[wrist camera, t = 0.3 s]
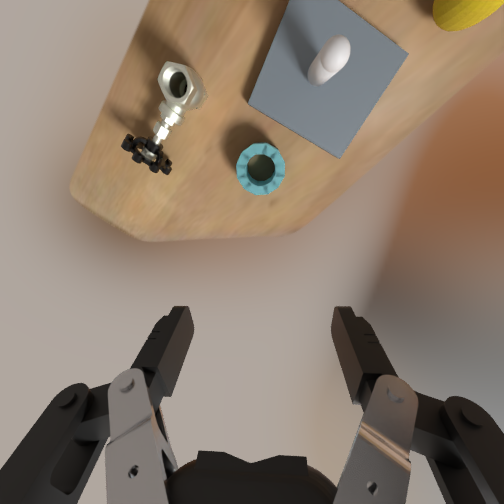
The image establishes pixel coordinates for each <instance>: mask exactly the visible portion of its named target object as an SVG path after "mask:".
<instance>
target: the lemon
mask: <svg viewBox="0 0 504 504" xmlns="http://www.w3.org/2000/svg"><path fill="white" fill-rule="evenodd" d="M503 4H504V0H434V4H433V18H434V21H435V23H436V25H437V26H438V27H440V28H441V29H443V30H446V31H459V30H462V29H465V28H468V27H471V26H473V25H475V24H477V23H478V22H480V21H482V20H483V19H485V18H487V17H488V16H489V15H491V14H492V13H493V12H495V11H496V10H497V9H498V8H499V7H500V6H501V5H503Z"/></svg>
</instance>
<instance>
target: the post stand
mask: <svg viewBox="0 0 504 504" xmlns="http://www.w3.org/2000/svg"><path fill="white" fill-rule="evenodd" d="M407 56H408V53H407V52H406V51H404V50H403V49H402V48H400V47H399V46H398V45H396V44H395V43H394V42H393V41H391V40H390V39H389V38H387V37H386V36H385V35H383V34H382V33H381V32H379V31H378V30H377V29H375V28H374V27H373V26H371V25H370V24H369V23H367V22H366V21H365V20H363V19H362V18H361V17H360V16H358V15H357V14H356V13H354V12H353V11H352V10H350V9H349V8H348V7H346V6H345V5H344V4H342V3H341V2H340V1H338V0H290V1H289V3H288V6H287V8H286V11H285V13H284V15H283V18H282V20H281V23H280V25H279V28H278V30H277V33H276V35H275V38H274V40H273V43H272V45H271V48H270V50H269V52H268V55H267V57H266V60H265V62H264V65H263V67H262V70H261V72H260V75H259V77H258V80H257V82H256V85H255V87H254V90H253V92H252V94H251V97H250V99H249V102H248V105H250V106H251V107H253V108H255V109H256V110H258V111H260V112H261V113H263V114H265V115H266V116H268V117H270V118H272V119H273V120H275V121H277V122H278V123H280V124H282V125H283V126H285V127H287V128H288V129H290V130H292V131H293V132H295V133H297V134H298V135H300V136H302V137H303V138H305V139H307V140H308V141H310V142H312V143H313V144H315V145H317V146H318V147H320V148H322V149H323V150H325V151H327V152H328V153H330V154H332V155H333V156H335V157H337V158H339V159H340V158H341V156H342V155H343V153H344V152H345V150H346V149H347V147H348V146H349V144H350V143H351V141H352V140H353V138H354V136H355V135H356V133H357V132H358V130H359V129H360V127H361V126H362V124H363V123H364V121H365V120H366V118H367V117H368V115H369V114H370V112H371V111H372V109H373V108H374V106H375V105H376V103H377V102H378V100H379V98H380V97H381V95H382V94H383V92H384V91H385V89H386V88H387V86H388V85H389V83H390V82H391V80H392V79H393V77H394V76H395V74H396V73H397V71H398V70H399V68H400V67H401V65H402V64H403V62H404V61H405V59H406V57H407Z"/></svg>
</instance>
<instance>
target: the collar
mask: <svg viewBox="0 0 504 504" xmlns="http://www.w3.org/2000/svg"><path fill="white" fill-rule="evenodd" d="M256 154H265V155H267V156H268V157H270V158H272V160H273V162H274V164H275V170H274V172H273V174H272V176H271V177H270V178H268V179H267V180H265V181H257V180H255V179H253V178H252V177H251V176H250V174H249V172H248V166H247V163H248V161H249V159H250V158H252V157H253V156H254V155H256ZM236 169H237V179H238V180H239V182H240V183H241V185H242V186H243V188H244V189H245V190H247V191H249V192H251V193H253V194H255V195H264V194H269V193H270V192H272V191H274V190H275V189H277V188H278V187H279V185H280V183H281V182H282V180H283V178H284V176H285V162H284V160H283V158H282V156H281V155H280V153H279V151H278V149H277V148H275V147H274V146H272V145H270V144H268V143H267V142H262V143H253V144H252V145H251V146H249V147H248V148H247V149H245V150H244V151H243V152H242V153H241V155H240V157H239V160H238V162H237V164H236Z"/></svg>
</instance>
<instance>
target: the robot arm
mask: <svg viewBox="0 0 504 504" xmlns="http://www.w3.org/2000/svg"><path fill="white" fill-rule="evenodd" d="M193 334H194V324H193V320H192V317H191V313H190V310H189V307H188V306H174V307H173V308H172V310H171V312H170V314H169V315H168V316H163V317H162V318H161V319H160V320H159V321H158V322H157V323H156V324H155V326H154V328H153V330H152V333H150V335H149V337H148V340H146V342H145V344H144V346H143V347H142V349H141V351H140V352H139V354H138V356H137V358H136V359H135V361H134V363H133V364H132V366H131V368H130V369H128V370H126V371H124V372H122V373H121V374H119V375H118V376H117V377H116V378H115V379H114V380H113V381H112V383H109V384H105V385H102V386H98V387H95V388H92V389H89V388H88V387H87V385H86V384H83V383H77V384H73V385H71V386H69V387H67V388H65V389H64V390H62V391H61V392H60V393H59V394H57V395H56V397H54V399H53V400H52V401H51V403H50V404H49V405H48V406H47V408H46V409H45V411H44V412H43V413H42V415H41V416H40V417H39V419H38V420H37V421H36V423H35V424H34V425H33V427H32V428H31V429H30V431H29V432H28V433H27V435H26V436H25V438H24V439H23V440H22V441H21V443H20V444H19V445H18V447H17V448H16V450H15V451H14V452H13V454H12V455H11V456H10V458H9V459H8V460H7V462H6V463H5V464H4V466H3V467H2V468H1V470H0V504H77V503H78V500H79V498H80V496H81V494H82V492H83V490H84V488H85V486H86V483H87V481H88V479H89V477H90V475H91V473H92V471H93V468H94V466H95V464H96V462H97V460H98V458H99V456H100V454H101V451H102V449H103V447H104V445H105V443H106V441H107V439H108V437H110V436H111V440H110V443H108V444H107V446H106V449H105V466H106V489H107V504H405V503H406V497H407V490H408V484H409V479H410V472H411V462H410V461H409V453H410V450H412V451H415V452H417V453H420V454H422V455H424V456H426V459H427V461H428V463H429V465H430V467H431V470H432V472H433V474H434V477H435V479H436V481H437V484H438V486H439V488H440V491H441V493H442V495H443V498H444V500H445V502H446V504H504V433H503V432H502V431H501V429H500V428H499V427H498V425H497V424H496V423H495V421H494V420H493V418H492V417H491V416H490V415H489V414H488V413H487V412H486V411H485V410H484V409H483V408H481V407H480V406H479V405H477V404H476V403H474V402H472V401H470V400H468V399H466V398H463V397H459V396H452V397H449V398H447V400H446V401H445V402H444V401H441V400H438V399H435V398H432V397H429V396H426V395H423V394H420V393H418V392H416V391H414V390H413V389H412V388H411V387H410V386H409V385H408V384H407V383H406V382H405V381H403V380H402V379H400V378H399V377H398V375H397V374H396V372H395V370H394V368H393V366H392V365H391V363H390V361H389V359H388V357H387V355H386V353H385V351H384V349H383V348H382V346H381V344H380V343H379V340H378V338H377V336H376V335H375V332H374V330H373V328H372V327H371V325H370V324H369V323H368V322H367V321H366V320H365V319H364V318H363V317H356V316H355V314H354V312H353V310H352V308H351V307H350V306H348V307H346V306H344V307H343V306H337V307H335V308H334V313H333V319H332V324H331V334H332V338H333V342H334V345H335V348H336V351H337V355H338V358H339V361H340V365H341V368H342V371H343V374H344V377H345V380H346V384H347V387H348V390H349V394H350V397H351V400H352V403H353V404H358V405H361V406H362V409H363V412H364V414H363V417H362V419H361V422H360V425H359V428H358V431H357V433H356V436H355V440H354V442H353V444H352V447H351V450H350V453H349V455H348V458H347V461H346V464H345V466H344V469H343V472H342V474H341V477H340V480H339V483H338V485H337V487H336V486H335V485H334V484H333V483H332V482H331V481H330V480H329V479H328V478H327V477H326V476H325V475H323V474H322V473H321V472H319V471H318V470H316V469H314V468H313V467H311V466H308V465H307V458H306V457H301V456H284V455H278V456H275V457H271V458H268V459H264V460H261V461H258V462H254V463H249V462H246V461H244V460H241V459H239V458H237V457H234V456H232V455H230V454H227V453H225V452H214V451H198V455H197V459H196V460H193V461H191V462H189V463H187V464H185V465H184V466H182V467H180V468H179V469H178V465H177V462H176V459H175V456H174V454H173V451H172V448H171V445H170V442H169V437H168V434H167V430H166V426H165V422H164V418H163V414H162V410H161V407H160V403H161V400H162V398H163V396H165V397H171V396H172V393H173V390H174V387H175V385H176V382H177V379H178V376H179V373H180V371H181V368H182V365H183V362H184V359H185V357H186V354H187V351H188V349H189V346H190V343H191V340H192V337H193Z"/></svg>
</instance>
